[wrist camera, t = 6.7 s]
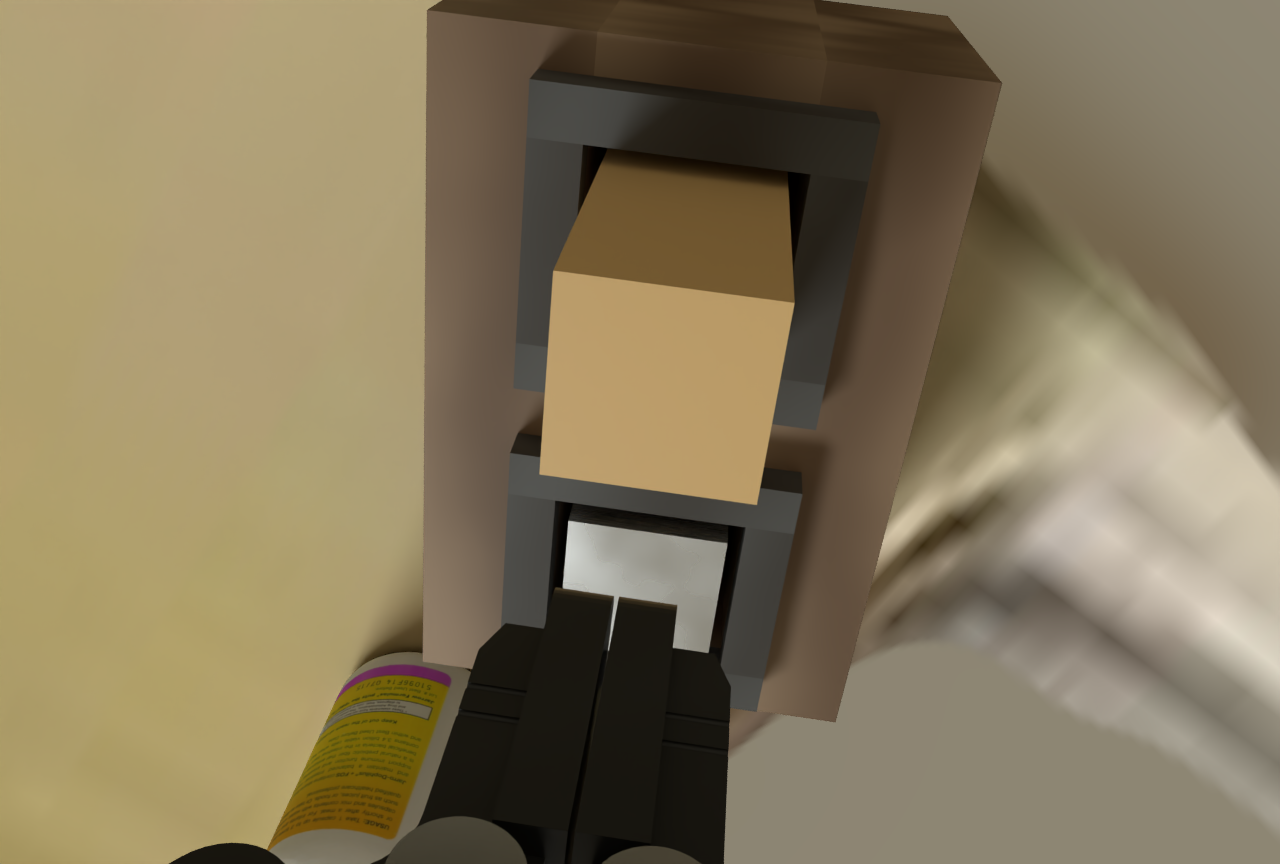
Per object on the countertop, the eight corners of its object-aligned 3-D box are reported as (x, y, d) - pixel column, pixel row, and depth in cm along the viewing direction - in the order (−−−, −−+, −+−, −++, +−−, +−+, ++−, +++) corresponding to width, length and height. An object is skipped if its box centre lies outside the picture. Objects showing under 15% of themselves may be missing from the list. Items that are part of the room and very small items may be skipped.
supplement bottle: (309, 695, 45) (158, 994, 34) (419, 616, 42) (295, 911, 31) (431, 792, 47) (326, 1103, 36) (542, 722, 44) (468, 1034, 33)
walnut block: (483, 508, 39) (413, 685, 32) (504, -40, 30) (413, 18, 23) (823, 557, 39) (837, 748, 31) (947, 16, 30) (1011, 94, 22)
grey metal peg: (597, 483, 37) (558, 643, 30) (607, 376, 35) (568, 520, 28) (717, 500, 37) (706, 665, 30) (735, 394, 35) (727, 543, 28)
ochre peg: (597, 302, 27) (539, 474, 20) (611, 140, 25) (553, 270, 18) (759, 324, 27) (756, 505, 20) (787, 163, 25) (794, 303, 18)
